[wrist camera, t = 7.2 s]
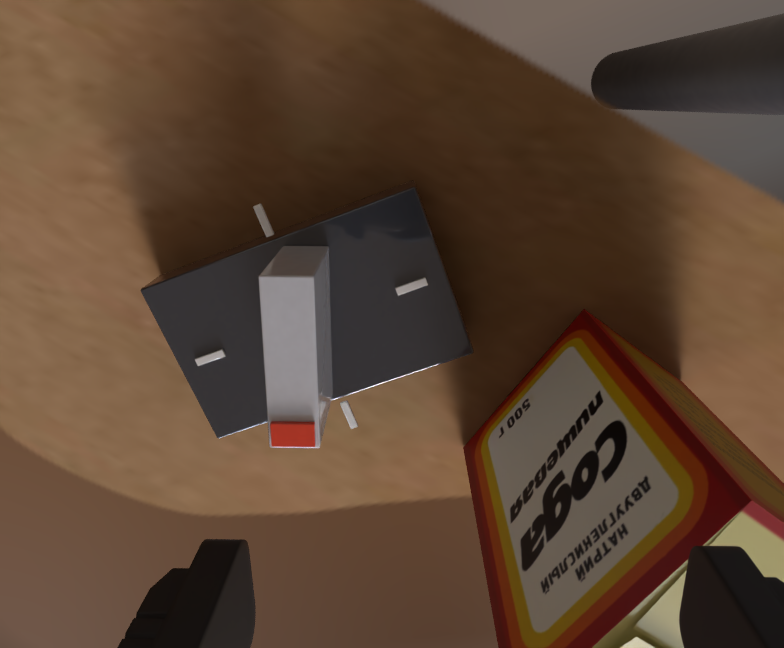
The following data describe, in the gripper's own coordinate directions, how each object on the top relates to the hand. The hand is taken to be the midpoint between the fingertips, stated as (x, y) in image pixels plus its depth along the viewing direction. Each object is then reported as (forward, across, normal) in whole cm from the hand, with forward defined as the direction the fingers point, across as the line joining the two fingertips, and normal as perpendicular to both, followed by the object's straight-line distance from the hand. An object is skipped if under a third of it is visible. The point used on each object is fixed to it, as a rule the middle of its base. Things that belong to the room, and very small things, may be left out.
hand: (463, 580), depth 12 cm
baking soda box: (+20, -7, +7) cm, 23 cm away
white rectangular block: (+17, +6, +1) cm, 18 cm away
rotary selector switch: (+20, +6, +1) cm, 21 cm away
